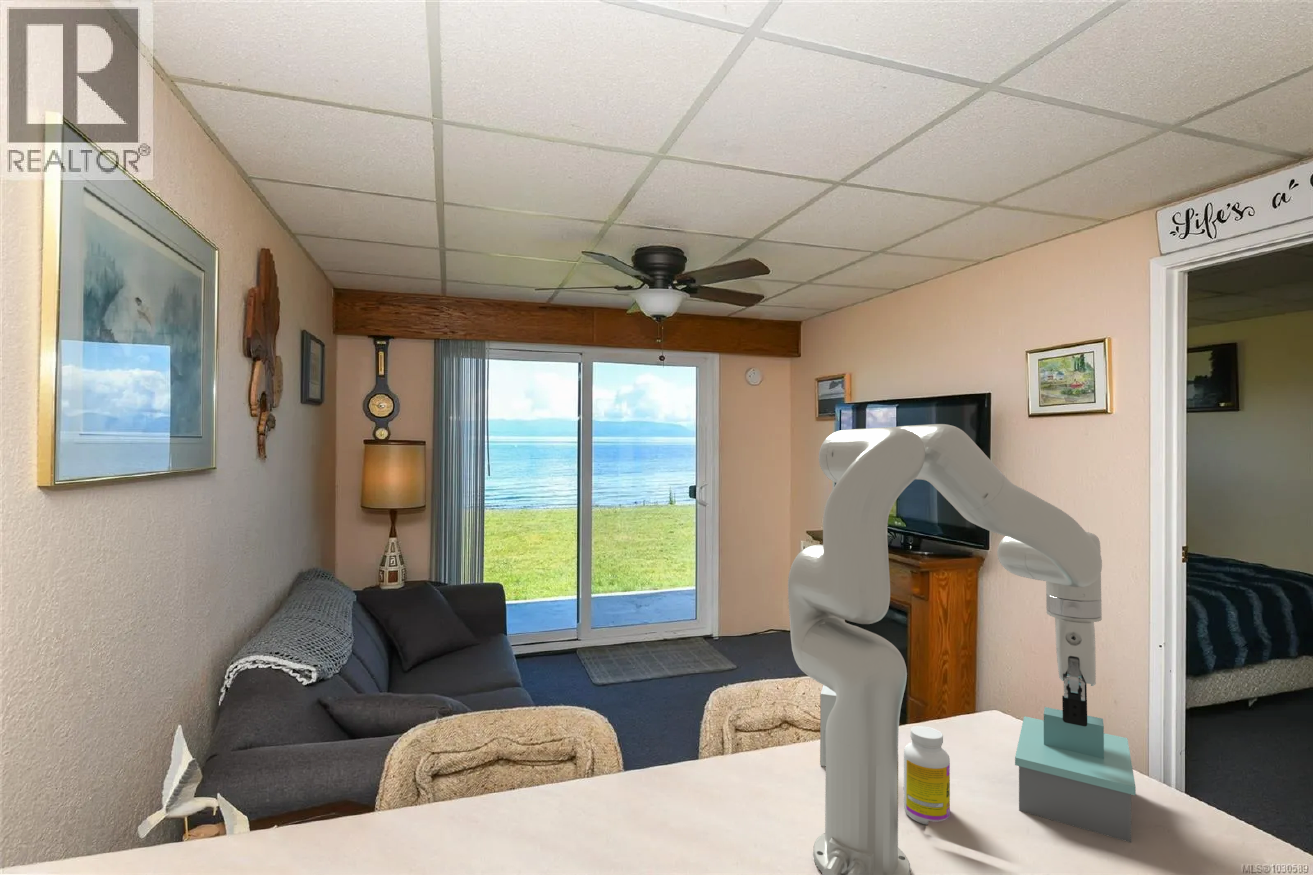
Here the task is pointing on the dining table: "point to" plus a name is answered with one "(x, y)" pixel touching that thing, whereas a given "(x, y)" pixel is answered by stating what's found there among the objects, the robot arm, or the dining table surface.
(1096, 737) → the lid
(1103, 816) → the tub
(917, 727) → the supplement bottle
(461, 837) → the dining table surface
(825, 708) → the small box
